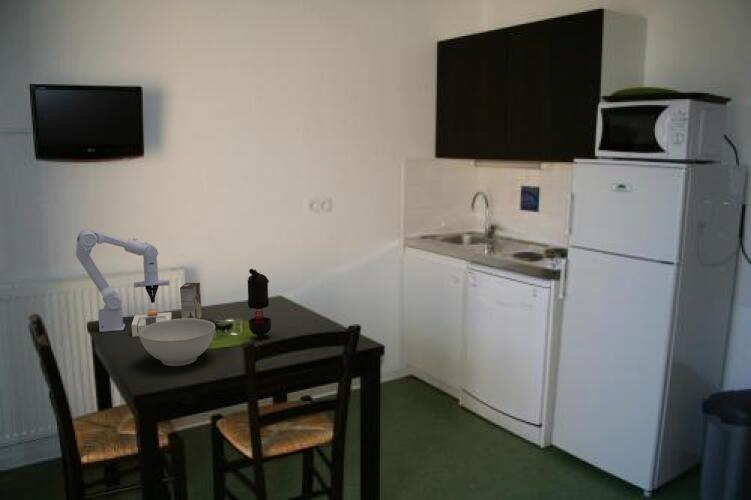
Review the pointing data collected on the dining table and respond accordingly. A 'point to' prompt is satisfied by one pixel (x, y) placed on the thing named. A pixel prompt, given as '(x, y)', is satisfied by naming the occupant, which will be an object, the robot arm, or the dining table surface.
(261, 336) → the filter
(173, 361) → the decorative bowl
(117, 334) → the dining table surface
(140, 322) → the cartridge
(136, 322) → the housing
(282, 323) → the dining table surface
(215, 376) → the dining table surface
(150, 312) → the brown egg
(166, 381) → the dining table surface
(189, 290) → the coffee box
